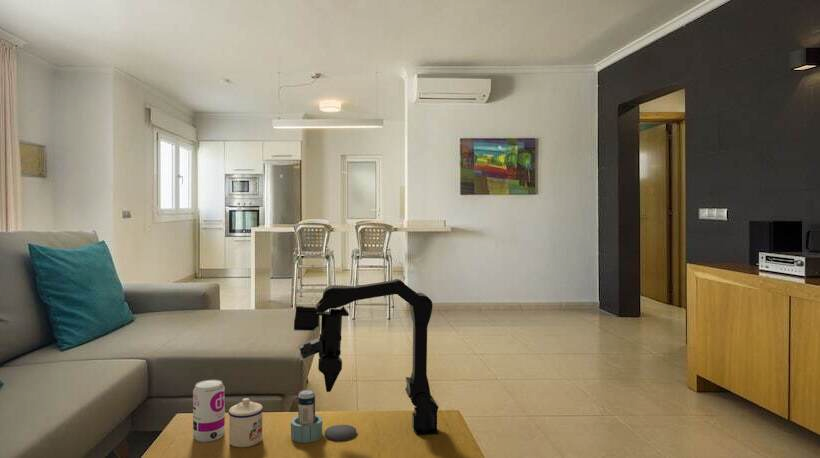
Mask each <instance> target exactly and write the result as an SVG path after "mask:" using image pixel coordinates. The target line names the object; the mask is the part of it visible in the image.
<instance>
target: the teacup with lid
mask: <svg viewBox="0 0 820 458" xmlns="http://www.w3.org/2000/svg"><path fill="white" fill-rule="evenodd" d="M263 411H264V407H263V405H262V404H261V403H259V402H254V401H251V400H250V398H248V397H246V398H243V399H242V401H240V402H238V403H237V404H235V405H233V406H231V407H230V408H229V409H228V415H229V418H228V419H229V420H228V421H229V422H228V423H229V424H228V425H229V430H228V431H229V432H228V433H229V435H228V437H229V438H228V439H229V441H228V442H229V444H230V445H231V446H232V447H235V448H249V447H252V446H255V445H258V444H259V443H260V442H261V441H262V440H263Z"/></svg>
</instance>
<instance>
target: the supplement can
mask: <svg viewBox="0 0 820 458" xmlns="http://www.w3.org/2000/svg"><path fill="white" fill-rule="evenodd" d="M225 389H226V388H225V385H224V383H223V381H222V380H219V379H205V380H202V381H199V382H197V383H196V384H195V386H194V388H193V390H192V408H193V409H192V426H193V427H192V430H193V431H192V437H193V439H195V440H196V441H197V442H199V443H209V442H214V441H217V440H219V439H221V438H222V437H223V435H224V434H225V431H226V427H225V424H226V422H225V421H226V417H225V416H226V415H225V414H226V413H225V411H226V410H225V408H226V407H225V406H226V405H225V401H226V398H225V396H226V395H225V391H226V390H225Z"/></svg>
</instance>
